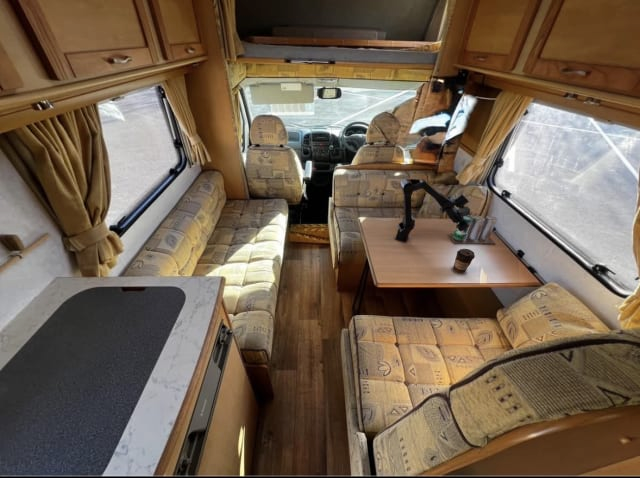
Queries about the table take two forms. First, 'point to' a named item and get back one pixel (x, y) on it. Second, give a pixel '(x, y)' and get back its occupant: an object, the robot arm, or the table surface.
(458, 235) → the can
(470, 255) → the coffee cup
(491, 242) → the dark grey flat slab
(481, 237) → the cans
